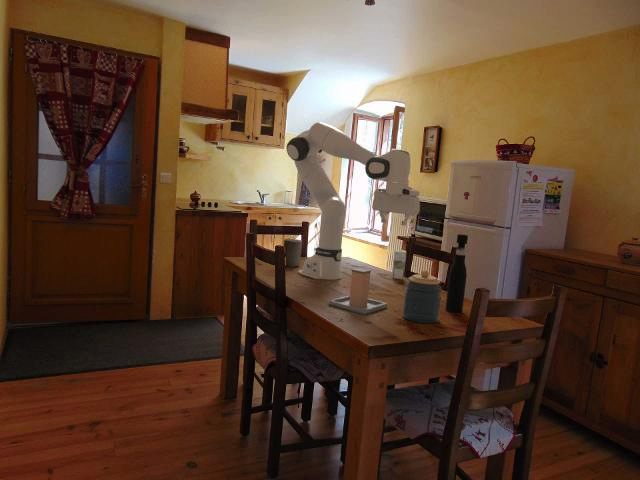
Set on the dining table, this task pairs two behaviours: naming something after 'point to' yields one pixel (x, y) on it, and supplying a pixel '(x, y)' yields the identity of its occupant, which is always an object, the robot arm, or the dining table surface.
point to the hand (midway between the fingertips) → (393, 223)
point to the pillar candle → (293, 252)
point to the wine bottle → (457, 278)
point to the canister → (422, 298)
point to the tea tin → (359, 287)
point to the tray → (370, 308)
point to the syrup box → (398, 264)
